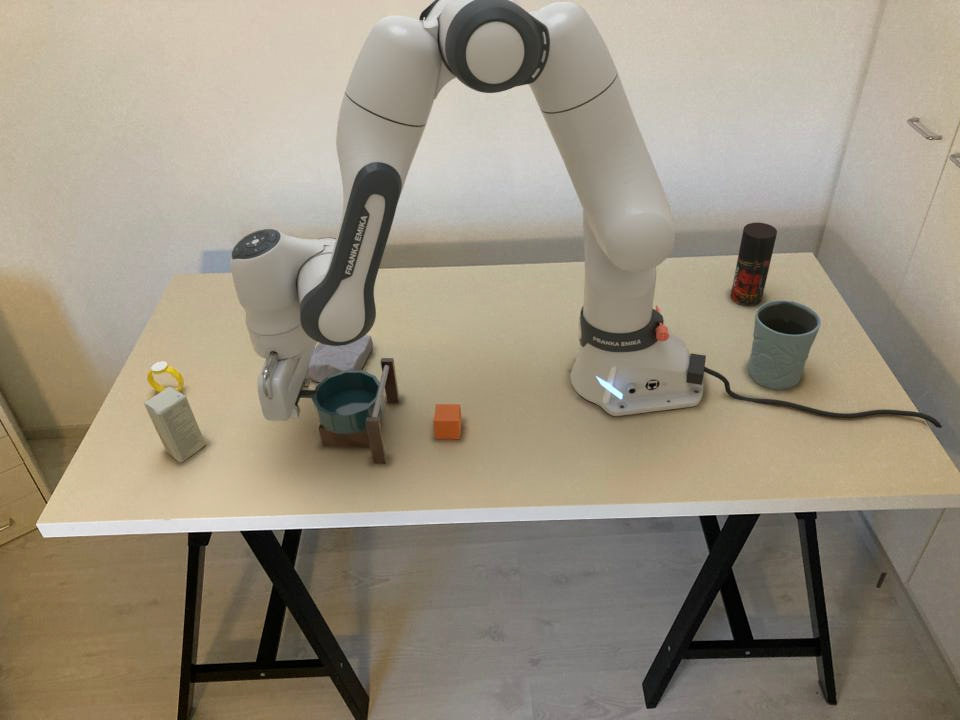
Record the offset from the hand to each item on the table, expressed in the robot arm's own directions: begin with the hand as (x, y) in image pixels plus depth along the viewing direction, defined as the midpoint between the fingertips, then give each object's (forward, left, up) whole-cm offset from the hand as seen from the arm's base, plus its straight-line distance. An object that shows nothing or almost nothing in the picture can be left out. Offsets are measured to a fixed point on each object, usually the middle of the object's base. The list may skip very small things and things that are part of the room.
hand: (299, 401), depth 124 cm
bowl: (-6, 0, -2) cm, 7 cm away
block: (-26, 0, -4) cm, 26 cm away
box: (+19, +5, -6) cm, 21 cm away
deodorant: (-79, -38, -6) cm, 88 cm away
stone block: (-2, -17, -6) cm, 18 cm away
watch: (+27, -9, -6) cm, 29 cm away
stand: (-8, 0, -6) cm, 10 cm away
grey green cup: (-79, -15, -6) cm, 81 cm away
